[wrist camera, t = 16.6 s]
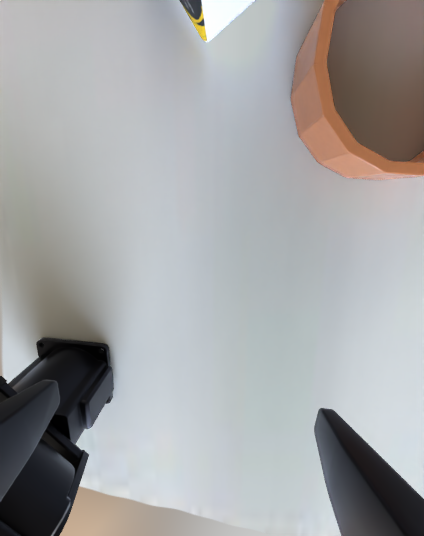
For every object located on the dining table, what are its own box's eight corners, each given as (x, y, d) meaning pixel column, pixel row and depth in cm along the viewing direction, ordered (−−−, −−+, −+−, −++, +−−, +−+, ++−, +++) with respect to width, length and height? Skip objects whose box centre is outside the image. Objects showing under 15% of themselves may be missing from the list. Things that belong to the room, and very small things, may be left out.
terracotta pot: (279, 173, 17) (297, 167, 13) (309, -41, 14) (346, -147, 9) (446, 184, 17) (522, 181, 12) (519, -35, 13) (660, -145, 9)
